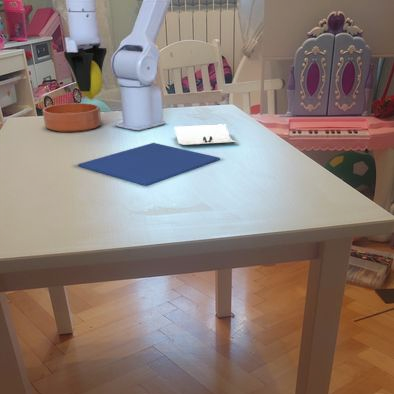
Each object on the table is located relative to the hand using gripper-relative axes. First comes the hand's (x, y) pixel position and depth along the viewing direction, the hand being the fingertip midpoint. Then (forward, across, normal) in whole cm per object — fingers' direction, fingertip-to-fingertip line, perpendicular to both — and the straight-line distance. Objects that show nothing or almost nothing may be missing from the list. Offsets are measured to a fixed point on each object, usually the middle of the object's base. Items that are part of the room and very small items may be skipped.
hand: (90, 88), depth 105 cm
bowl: (+10, -8, -9) cm, 15 cm away
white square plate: (+10, 0, +25) cm, 27 cm away
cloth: (+10, +18, +18) cm, 27 cm away
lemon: (+2, 0, 0) cm, 2 cm away
